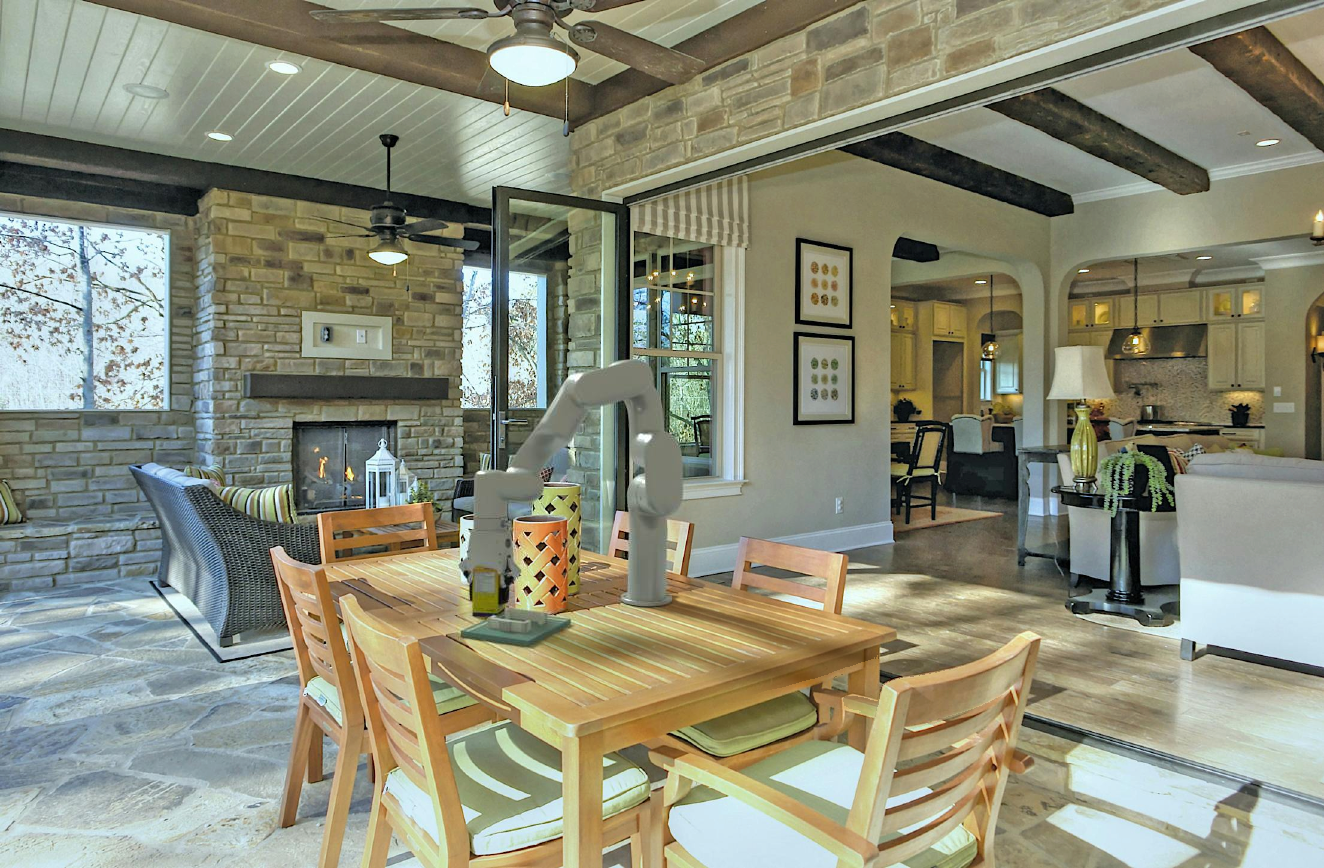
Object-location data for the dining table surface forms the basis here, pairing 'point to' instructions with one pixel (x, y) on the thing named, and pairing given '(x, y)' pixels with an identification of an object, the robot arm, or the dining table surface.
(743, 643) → the dining table surface
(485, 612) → the supplement box
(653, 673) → the dining table surface
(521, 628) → the board
